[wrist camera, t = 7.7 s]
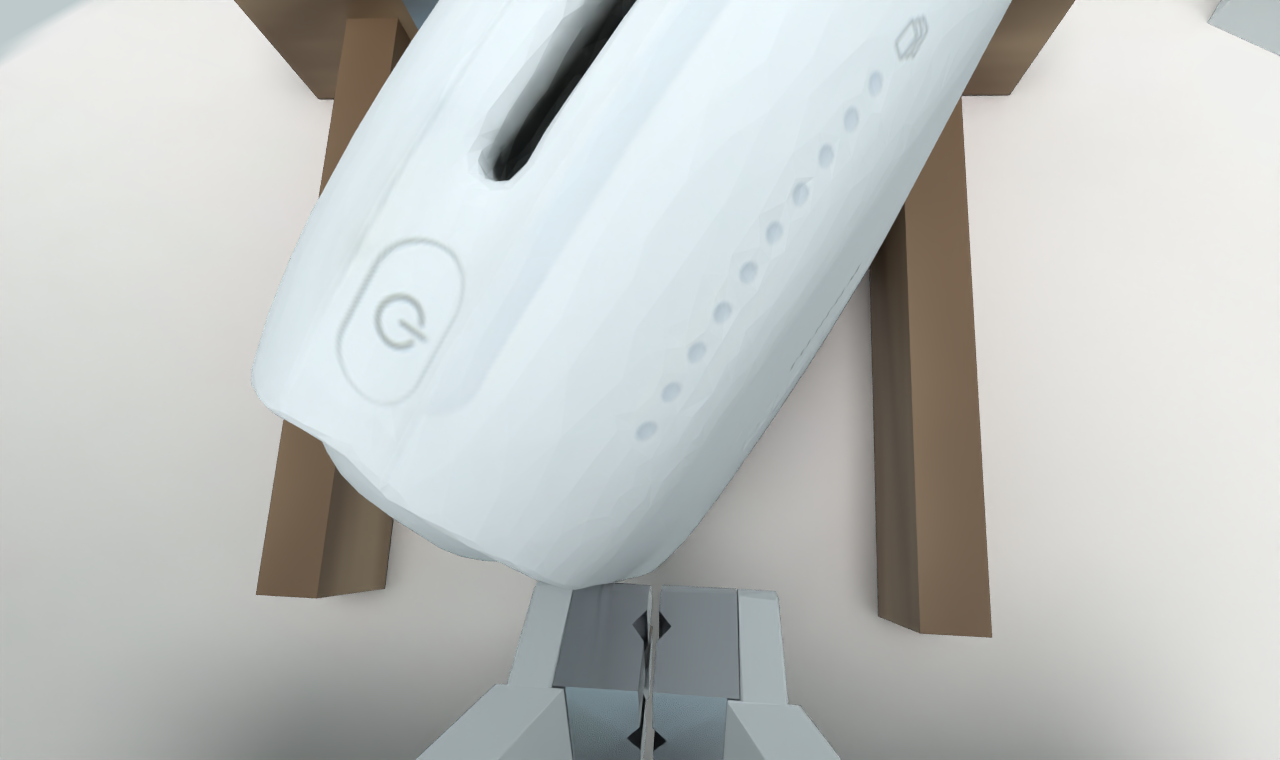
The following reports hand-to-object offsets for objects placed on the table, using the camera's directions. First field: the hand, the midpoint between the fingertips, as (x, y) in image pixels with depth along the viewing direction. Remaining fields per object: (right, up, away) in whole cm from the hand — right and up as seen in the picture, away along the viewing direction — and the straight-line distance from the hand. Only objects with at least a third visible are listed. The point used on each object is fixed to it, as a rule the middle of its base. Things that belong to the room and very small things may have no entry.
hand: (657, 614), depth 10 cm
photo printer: (+1, +3, +7) cm, 8 cm away
